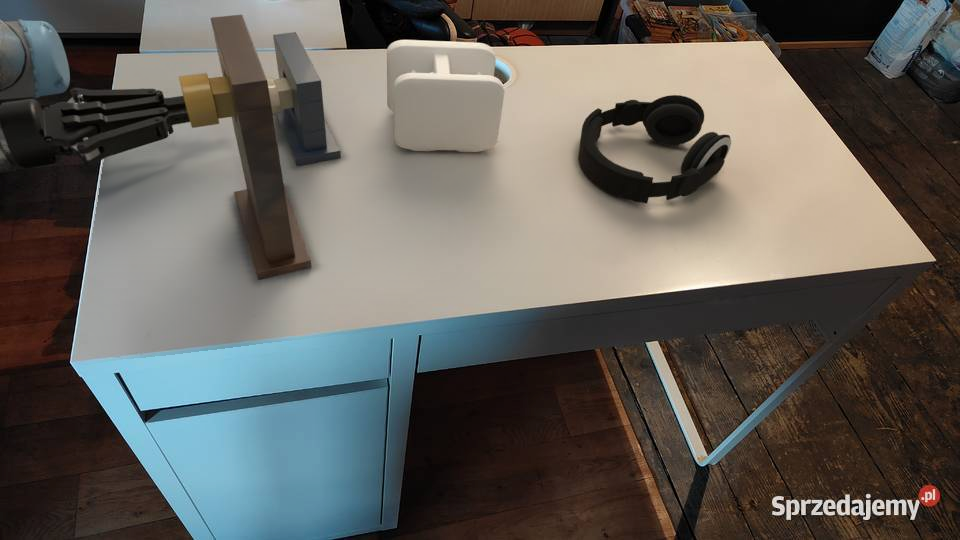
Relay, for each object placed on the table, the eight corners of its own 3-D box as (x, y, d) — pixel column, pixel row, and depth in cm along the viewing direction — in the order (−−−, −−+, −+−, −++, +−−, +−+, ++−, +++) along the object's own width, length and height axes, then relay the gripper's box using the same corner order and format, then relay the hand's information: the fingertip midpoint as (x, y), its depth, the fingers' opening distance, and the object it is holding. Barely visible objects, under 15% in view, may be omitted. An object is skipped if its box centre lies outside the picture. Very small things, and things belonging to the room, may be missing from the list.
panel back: (296, 166, 87) (286, 90, 78) (271, 106, 95) (259, 32, 86) (340, 157, 89) (335, 82, 80) (312, 100, 97) (305, 26, 88)
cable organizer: (387, 153, 90) (387, 78, 82) (387, 108, 97) (386, 35, 89) (495, 155, 93) (506, 82, 84) (487, 111, 99) (496, 39, 91)
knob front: (194, 138, 63) (182, 94, 59) (187, 109, 66) (176, 66, 62) (264, 127, 65) (256, 84, 62) (254, 99, 68) (247, 57, 64)
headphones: (760, 146, 86) (622, 183, 81) (742, 191, 92) (613, 227, 87) (687, 73, 97) (562, 102, 92) (675, 118, 103) (557, 147, 98)
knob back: (263, 124, 86) (258, 92, 82) (255, 103, 88) (249, 71, 85) (313, 115, 88) (310, 83, 84) (303, 95, 91) (300, 64, 87)
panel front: (257, 280, 73) (215, 93, 56) (235, 198, 82) (192, 14, 64) (311, 267, 75) (287, 83, 58) (284, 189, 84) (255, 7, 66)
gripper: (21, 131, 82) (219, 99, 90) (24, 198, 75) (239, 157, 83) (-6, 77, 76) (207, 49, 85) (-6, 144, 69) (228, 106, 77)
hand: (223, 102), depth 84 cm, fingers closed
